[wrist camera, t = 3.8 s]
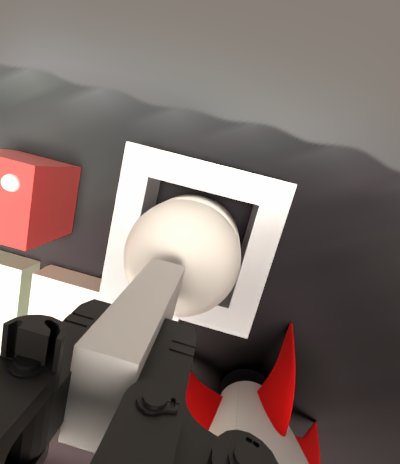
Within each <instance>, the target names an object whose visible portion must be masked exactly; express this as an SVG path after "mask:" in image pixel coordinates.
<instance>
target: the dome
mask: <svg viewBox="0 0 400 464" xmlns="http://www.w3.org/2000/svg"><path fill="white" fill-rule="evenodd" d="M152 258H156V259H160V260H164V261H167V262H171V263H174V264H178V265H182V266H185V267H186V268H185V272H184V276H183V280H182V284H181V288H180V292H179V296H178V300H177V304H176V308H175V312H174V316H175V317H188V316H195V315H199V314H202V313H204V312H207V311H209V310H211V309H212V308H214V307H215V306H217V305H218V304H219V303H221V302H222V301H223V300H224V299H225V298H226V297H227V296H228V294H229V293H230V292H231V290H232V288H233V287H234V285H235V283H236V281H237V278H238V275H239V271H240V266H241V248H240V239H239V232H238V228H237V225H236V223H235V221H234V219H233V217H232V216H231V214H230V213H229V212H228V211H227V209H226V208H225V207H223V206H222V205H221V204H220V203H218V202H217V201H215V200H213V199H211V198H209V197H206V196H203V195H198V194H184V195H180V196H176V197H173V198H171V199H169V200H167V201H164V202H162V203H160V204H158V205H156V206H154V207H152V208H151V209H149V210H148V211H147V212H145V213H144V214H143V215H142V216H141V217H140V218H139V219H138V220H137V221H136V223H135V224H134V225H133V227H132V229H131V231H130V232H129V235H128V237H127V239H126V243H125V248H124V269H125V273H126V277H127V279H128V282H129V284H130V283H131V282H132V281H133V279H134V278H135V277H136V276H137V275H138V274H139V273H140V272H141V271H142V269H143V268H144V267H145V266H146V265H147V264H148V263H149V262H150V261H151V259H152Z"/></svg>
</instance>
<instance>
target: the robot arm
mask: <svg viewBox="0 0 400 464" xmlns="http://www.w3.org/2000/svg"><path fill="white" fill-rule="evenodd" d="M185 268H186V267H185V266H182V265H178V264H174V263H171V262H167V261H164V260H160V259H156V258H152V259H151V261H150V262H149V263H148V264H147V265H146V266H145V267H144V268H143V269H142V271H141V272H140V273H139V274H138V275H137V276H136V277H135V278H134V279H133V281H132V282H131V283H130V284H129V285H128V286H127V287H126V288H125V289H124V291H123V292H122V293H121V294H120V295H119V296H118V297H117V298H116V299H115V301H114V302H113V303H112V304H111V303H107V302H104V301H100V300H97V299H93V300H90V301H87V302H85V303H82V304H80V305H79V306H78V307H77V308H76V309H75V310H74V311H72V313H71V314H69V315H68V316H67V317H66V318H65V319H64V320H63V321H61V320H59V319H56V318H54V317H52V316H47V315H41V314H36V315H24V316H20V317H16V318H13V319H11V320H9V321H7V322H5V323H3V331H2V341H1V351H0V464H44V461H45V459H46V457H47V454H48V448H49V442H50V441H51V439H52V438H53V436H54V435H55V433H56V432H57V430H58V429H59V427H60V426H61V428H60V434H59V440H58V442H61V443H64V444H68V445H71V446H74V447H77V448H80V449H84V450H87V451H90V452H93V453H95V455H94V457H93V459H92V461H91V463H90V464H278V462H277V460H276V458H275V456H274V454H273V453H272V451H271V450H270V449H269V448H268V447H267V445H266V444H265V443H264V442H263V441H262V440H261V439H259V438H257V437H256V436H254V435H252V434H251V433H249V432H245V431H241V430H238V429H237V430H228V431H225V432H224V433H222V434H221V435H219V436H216V435H215V434H213V433H212V432H210V431H208V430H207V429H205V428H204V427H203V426H202V425H200V424H199V423H198V422H197V421H196V420H195V419H194V417H193V416H192V415H191V413H190V411H189V409H188V407H187V403H186V391H187V386H188V381H189V376H190V371H191V367H192V362H193V356H194V352H195V347H196V342H197V337H198V336H197V333H196V331H195V328H194V326H192V325H188V324H185V323H181V322H178V321H174V320H173V316H174V312H175V308H176V304H177V300H178V296H179V292H180V288H181V284H182V280H183V276H184V272H185Z"/></svg>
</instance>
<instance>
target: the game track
mask: <svg viewBox="0 0 400 464" xmlns="http://www.w3.org/2000/svg"><path fill="white" fill-rule="evenodd" d="M40 263H41V261H37V260H34V259H30V258H26V257H23V256H19V255H16V254H12V253H9V252H5V251H2V250H0V351H1V341H2V331H3V323H5V322H7V321H9V320H11V319H13V318H16V317H20V316H24V315H36V314H41V315H47V316H52V317H54V318H56V319H59V320H61V321H63V320H64V319H65V318H66V317H67V316H68V315H69V314H71V313H72V311H74V310H75V309H76V308H77V307H78V306H79V305H80V304H82V303H85V302H87V301H90V300H93V299H97V300H100V301H104V302H107V303H111V304H112V303H113V302H114V301H113V300H109V299H106V298H102V297H99V291H100V285H101V278H97V277H94V276H90V275H87V274H83V273H80V272H76V271H73V270H69V269H65V268H62V267H58V266H55V265H51V264H50V265H48V266H47V267H45V268H43V269H41V270H40ZM173 320H174V321H178V322H179V321H180V320H179V319H176V318H173Z"/></svg>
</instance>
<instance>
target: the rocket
mask: <svg viewBox="0 0 400 464" xmlns="http://www.w3.org/2000/svg"><path fill="white" fill-rule="evenodd" d="M295 377H296V361H295V345H294V333H293V324H292V322H291V323H290V325H289V327H288V330H287V333H286V336H285V339H284V342H283V345H282V347H281V350H280V353H279V356H278V359H277V361H276V364H275V366H274V368H273V369H272V371H271V373H270V374H269V376H268V377H267V379H266V378H265V377H264V376H263V375H262V374H260V373H259V372H257V371H254V370H251V369H238V370H235V371H232V372H230V373H229V374H228V375H226V376H225V378H224V379H223V381H222V383H221V386H220V393H221V395H219V394H217V393H216V392H214V391H213V390H211V389H210V388H208V387H207V386H205V385H204V384H202V383H201V382H200V381H199V380H198V379H197V378H196V377H195V375H194V374H193V373H192V371H190V376H189V381H188V386H187V391H186V403H187V407H188V409H189V411H190V413H191V415H192V416H193V417H194V419H195V420H196V421H197V422H198V423H199V424H200V425H202V426H203V427H204V428H205V429H207V430H208V431H210V432H212V433H213V434H215V435H216V436H219V435H221V434H222V433H224V432H225V431H228V430H237V429H238V430H241V431H245V432H249V433H251V434H252V435H254V436H256V437H257V438H259V439H261V440H262V441H263V442H264V443H265V444H266V445H267V447H268V448H269V449H270V450H271V451H272V453H273V454H274V456H275V458H276V460H277V462H278V464H321V461H320V448H319V438H318V428H317V421H315V422H314V424H313V425H312V426H311V427H310V429H309V430H308V431H307V433H306V434H305V435H304V437H303V438H300V437H297V436H294V434H293V432H292V430H291V428H290V427H289V422H290V418H291V413H292V408H293V401H294V393H295Z"/></svg>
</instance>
